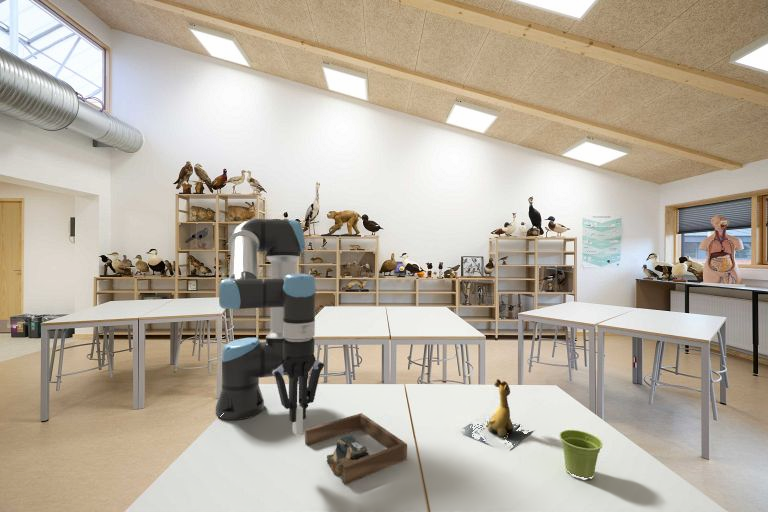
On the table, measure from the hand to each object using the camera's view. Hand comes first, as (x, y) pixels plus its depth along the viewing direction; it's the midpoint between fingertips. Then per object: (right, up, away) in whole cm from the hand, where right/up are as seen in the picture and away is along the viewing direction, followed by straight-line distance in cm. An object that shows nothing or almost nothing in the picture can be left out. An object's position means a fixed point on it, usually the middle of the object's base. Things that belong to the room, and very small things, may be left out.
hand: (297, 432), depth 92 cm
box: (+13, -9, +9) cm, 18 cm away
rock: (+12, -10, +3) cm, 16 cm away
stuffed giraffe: (+55, -10, +22) cm, 60 cm away
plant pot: (+70, -11, +1) cm, 70 cm away
